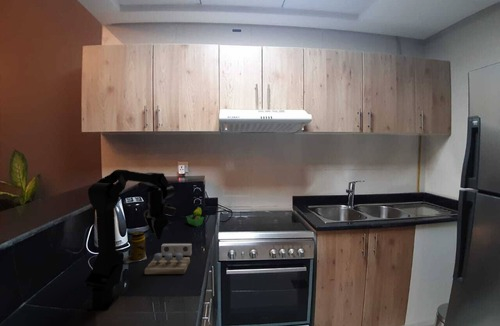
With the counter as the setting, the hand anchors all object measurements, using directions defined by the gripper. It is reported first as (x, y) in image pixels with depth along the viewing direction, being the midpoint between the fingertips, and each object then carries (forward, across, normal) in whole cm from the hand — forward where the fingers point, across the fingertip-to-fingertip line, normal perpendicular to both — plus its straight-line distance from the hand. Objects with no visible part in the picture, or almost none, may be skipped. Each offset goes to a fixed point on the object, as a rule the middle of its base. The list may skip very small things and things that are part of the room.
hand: (155, 235), depth 96 cm
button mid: (+11, -6, -4) cm, 13 cm away
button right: (+11, -9, -7) cm, 16 cm away
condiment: (+13, +12, +6) cm, 19 cm away
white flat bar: (+13, +4, -11) cm, 17 cm away
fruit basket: (+13, +41, -37) cm, 57 cm away
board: (+13, -6, -4) cm, 15 cm away
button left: (+11, -3, 0) cm, 12 cm away
